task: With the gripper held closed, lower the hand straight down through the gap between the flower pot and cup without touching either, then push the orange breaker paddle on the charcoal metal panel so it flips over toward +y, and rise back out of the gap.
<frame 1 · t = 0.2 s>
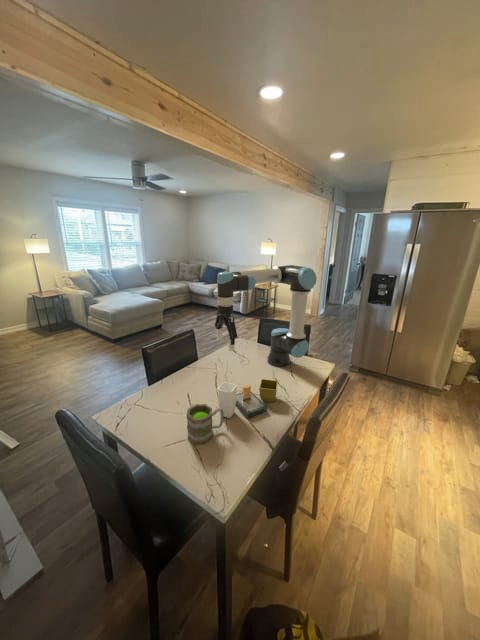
hand: (225, 345, 132), 28 cm above the table, fingers open, 13 cm apart
paddle: (246, 392, 129), point 7 cm above the table, hinge at 0.0°
flower pot: (267, 399, 136), on the table
cup: (227, 414, 124), on the table
mug: (206, 434, 111), on the table
panel: (248, 406, 130), on the table
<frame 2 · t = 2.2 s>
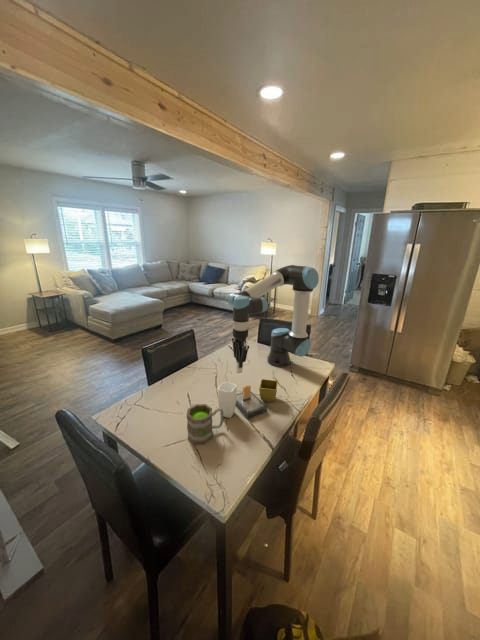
hand: (239, 372, 132), 15 cm above the table, fingers closed
nothing on the table moved.
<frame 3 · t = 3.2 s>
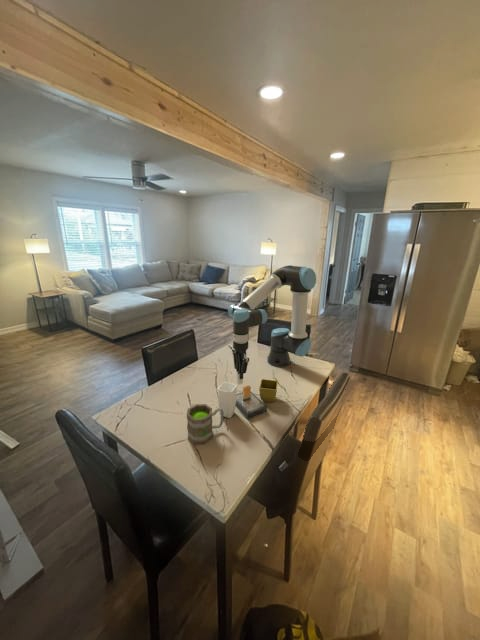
hand: (239, 383, 134), 8 cm above the table, fingers closed
nothing on the table moved.
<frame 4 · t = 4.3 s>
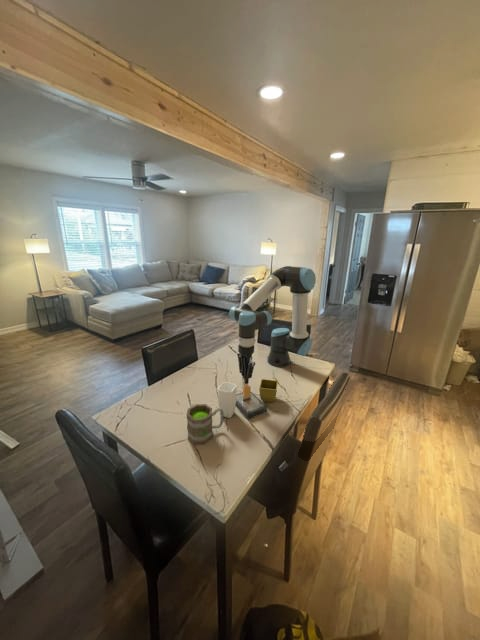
hand: (245, 388, 130), 9 cm above the table, fingers closed
paddle: (246, 392, 129), point 7 cm above the table, hinge at 0.0°, touching gripper
everything else where it was.
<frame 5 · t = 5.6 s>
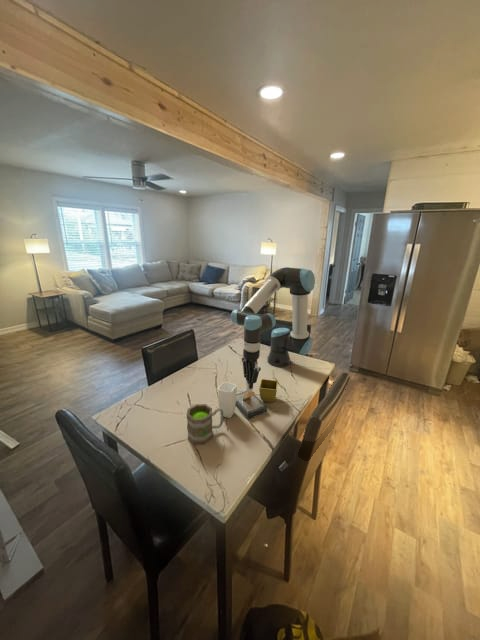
hand: (249, 392, 127), 8 cm above the table, fingers closed
paddle: (248, 395, 128), point 6 cm above the table, hinge at 43.5°, touching gripper
everything else where it was.
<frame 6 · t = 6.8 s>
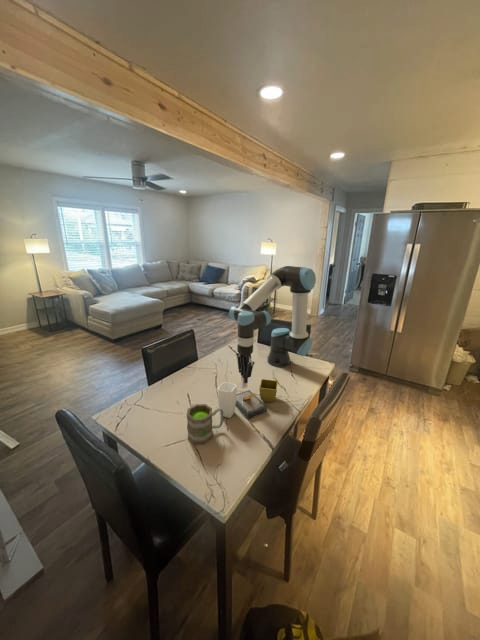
hand: (244, 387, 131), 8 cm above the table, fingers closed
paddle: (248, 396, 128), point 6 cm above the table, hinge at 52.7°
everything else where it was.
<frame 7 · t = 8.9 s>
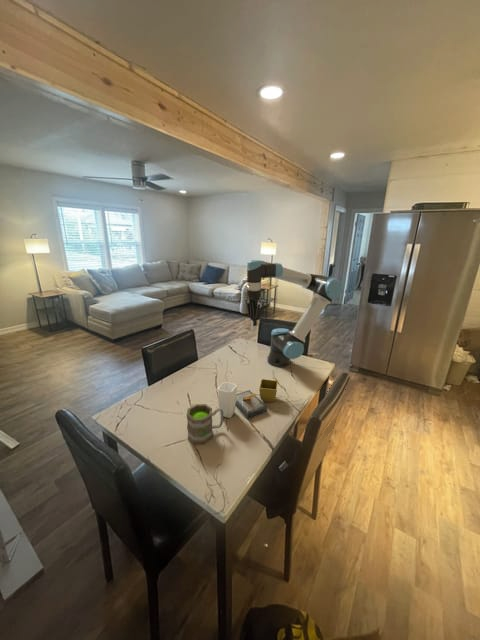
hand: (253, 330, 148), 30 cm above the table, fingers closed
paddle: (248, 396, 128), point 6 cm above the table, hinge at 53.5°
everything else where it was.
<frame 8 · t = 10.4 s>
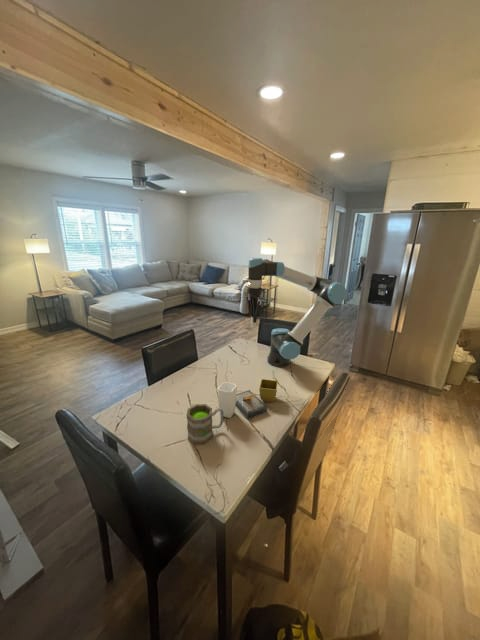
hand: (253, 327, 151), 30 cm above the table, fingers closed
nothing on the table moved.
at the end: paddle at +54° (first picture: +0°); flower pot moved 0.3 cm from its start; cup moved 0.2 cm from its start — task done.
